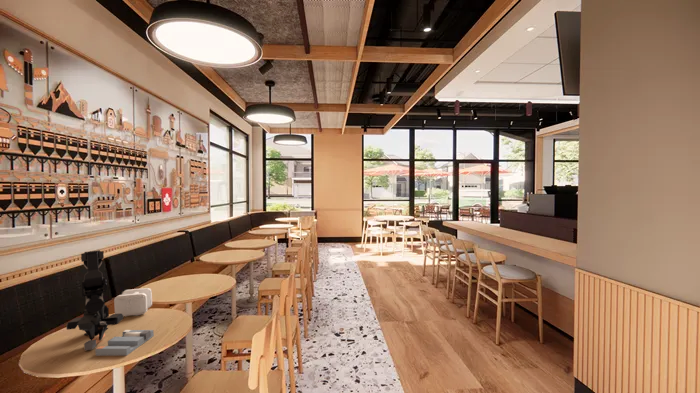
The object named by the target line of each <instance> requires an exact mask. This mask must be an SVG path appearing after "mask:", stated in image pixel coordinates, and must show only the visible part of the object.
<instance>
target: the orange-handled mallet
mask: <svg viewBox="0 0 700 393" xmlns="http://www.w3.org/2000/svg"><path fill="white" fill-rule="evenodd" d="M105 337H106V332H105V333H104V335H103V338H102V340H103V339H104V338H105ZM102 340H99V334H98V335H95V336H94V339H92V340H90V339H88V340H87V341H86V342H84V344H83V345H84V347H83V348H84V351H91V350H94V349H96V348H97V345H98V344H99V343H100V342H101V341H102Z"/></svg>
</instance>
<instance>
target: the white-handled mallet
mask: <svg viewBox="0 0 700 393" xmlns="http://www.w3.org/2000/svg"><path fill="white" fill-rule="evenodd" d="M143 330H144V331H143V332H126V333H125V334H124V337H144V340H147V339H148V338H149V337H151V334H150V330H151V329H143ZM151 338H152V337H151ZM147 341H148V340H147Z"/></svg>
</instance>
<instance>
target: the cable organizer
mask: <svg viewBox="0 0 700 393" xmlns="http://www.w3.org/2000/svg"><path fill="white" fill-rule="evenodd" d="M113 303H114V314H120V313H121V314H122V315H123V318H124V316H125V317H128V316H141V315H144V314H145V313H147V311H148V309H149V308H151V307H152V306H153V294H152V288H149V287H147V288H144V287H143V288H134V289H133V288H132V289H125V290H124V291H122V292H121V294H119V295H116V297H114V299H113Z"/></svg>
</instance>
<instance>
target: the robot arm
mask: <svg viewBox="0 0 700 393" xmlns="http://www.w3.org/2000/svg"><path fill="white" fill-rule="evenodd" d="M104 258H105V256H104V251H103V250H99V249H97V250H90V251H84V253H80V260H81V261H80V262H82V263H83V266H84V267H85V269H86V271H87V272H86V273H85V274H84V276H83V280H81V291H82V292H81V295H82V297H83V298H84V297H85V305H84V309H83V313H82V314H83V316H82V317H81V316H80V317H75V318H73V319H71V320H70V321H68V322H67V323H66V325H65V326H66V330H68V331H69V330H75V329H76V328H77V327H78V330H79V331H84V332H85V333H83V335H84V336H88V338H89V340H92V339H94V338H95V337H96V336H97V335H99V340H101V341H102V340H103V339H104V338H103V335H104V333H105V334H106V331H107V330H108V329H109V326H113V325H117V324H119V323H120V322H121V321H123V319H124V317H123V315H122V314H121V313H120V314H115V313H112V314H111V315H109V312H110V311H109V307H108V306H107V305H106V304H105V301H104V293H106V292H107V291H106V290H108V283H107V279H106V277H104V276H103V275H104V274H103V272H101V271H100V269H99V268H100V267H101V266H102V264H103V260H105V259H104ZM102 338H103V339H102Z"/></svg>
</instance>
